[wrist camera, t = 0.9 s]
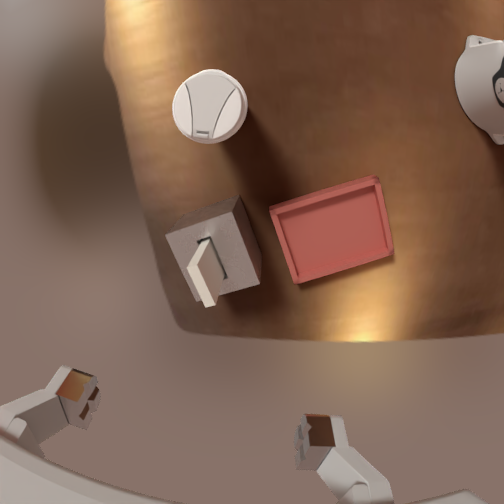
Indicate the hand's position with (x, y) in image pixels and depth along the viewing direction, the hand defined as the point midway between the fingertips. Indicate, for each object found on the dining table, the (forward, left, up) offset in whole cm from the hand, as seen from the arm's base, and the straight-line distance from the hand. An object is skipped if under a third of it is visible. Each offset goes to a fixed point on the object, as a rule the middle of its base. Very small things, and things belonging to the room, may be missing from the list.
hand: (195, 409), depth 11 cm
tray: (-10, +9, -37) cm, 40 cm away
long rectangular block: (+6, +5, -33) cm, 34 cm away
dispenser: (+6, +5, -37) cm, 38 cm away
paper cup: (-1, -12, -38) cm, 40 cm away
